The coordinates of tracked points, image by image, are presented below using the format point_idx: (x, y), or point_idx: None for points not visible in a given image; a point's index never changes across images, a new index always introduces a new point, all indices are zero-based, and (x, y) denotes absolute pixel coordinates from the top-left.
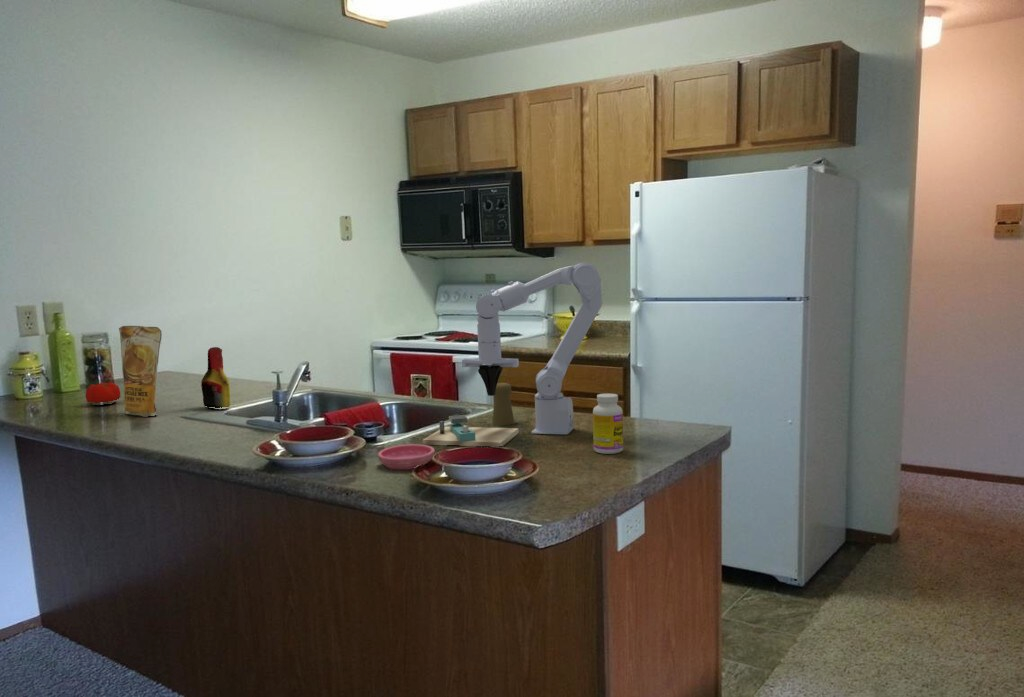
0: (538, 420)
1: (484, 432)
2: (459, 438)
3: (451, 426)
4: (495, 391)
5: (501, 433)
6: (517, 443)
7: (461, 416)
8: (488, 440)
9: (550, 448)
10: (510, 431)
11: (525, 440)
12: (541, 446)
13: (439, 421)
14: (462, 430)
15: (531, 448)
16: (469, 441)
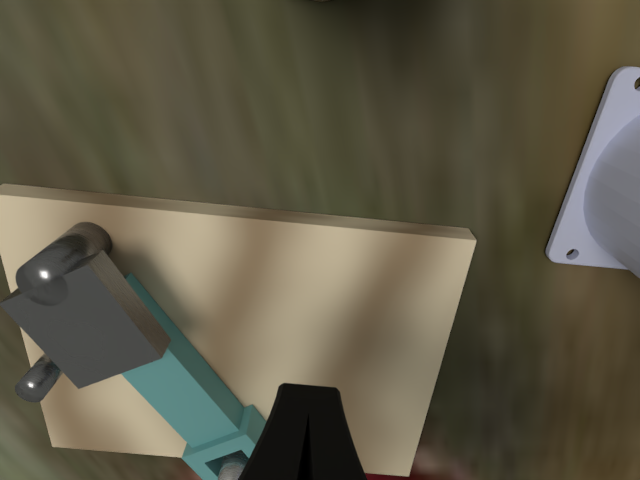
0: (637, 275)
1: (291, 331)
2: None
3: None
4: (343, 413)
5: (388, 349)
6: (469, 407)
7: (98, 316)
8: None
9: (605, 465)
10: (433, 311)
11: (506, 364)
12: (572, 443)
13: (17, 392)
14: (209, 451)
15: (528, 466)
16: None
